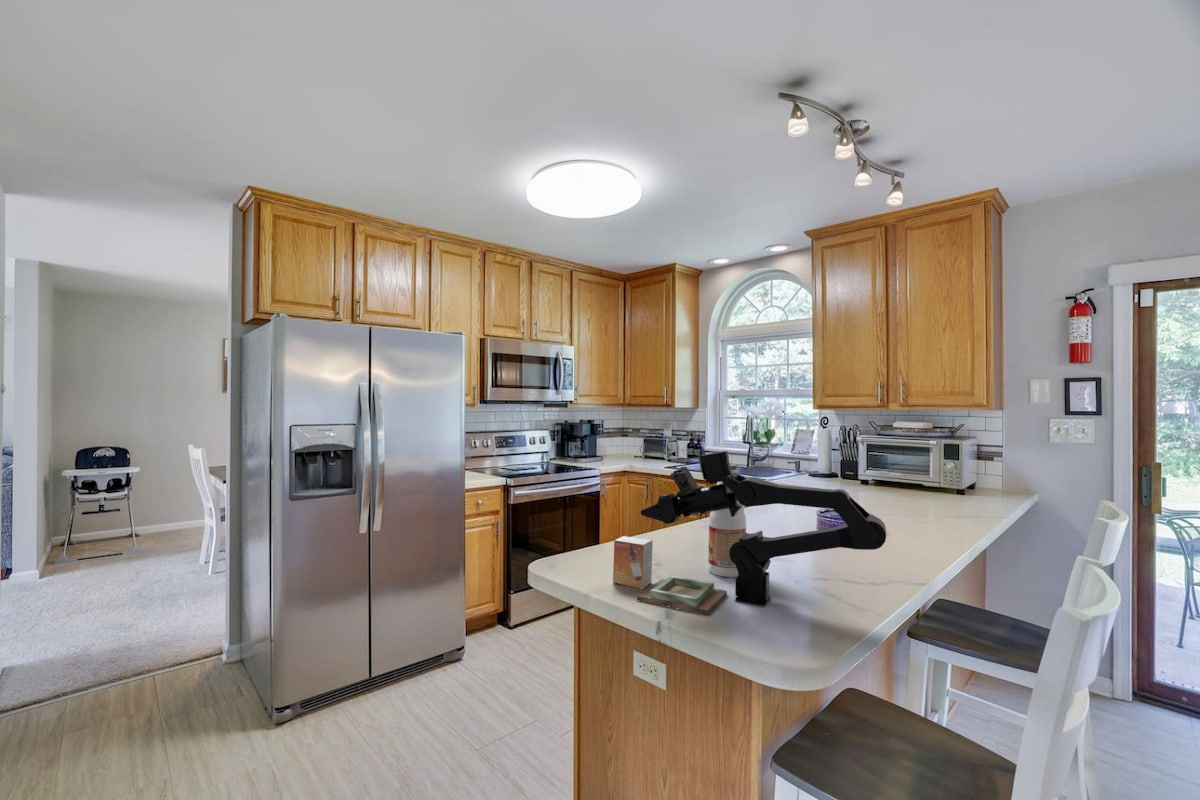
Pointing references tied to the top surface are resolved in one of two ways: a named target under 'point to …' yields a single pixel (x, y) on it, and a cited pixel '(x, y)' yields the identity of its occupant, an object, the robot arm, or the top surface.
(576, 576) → the top surface
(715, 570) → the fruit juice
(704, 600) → the board
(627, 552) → the small box
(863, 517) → the robot arm
